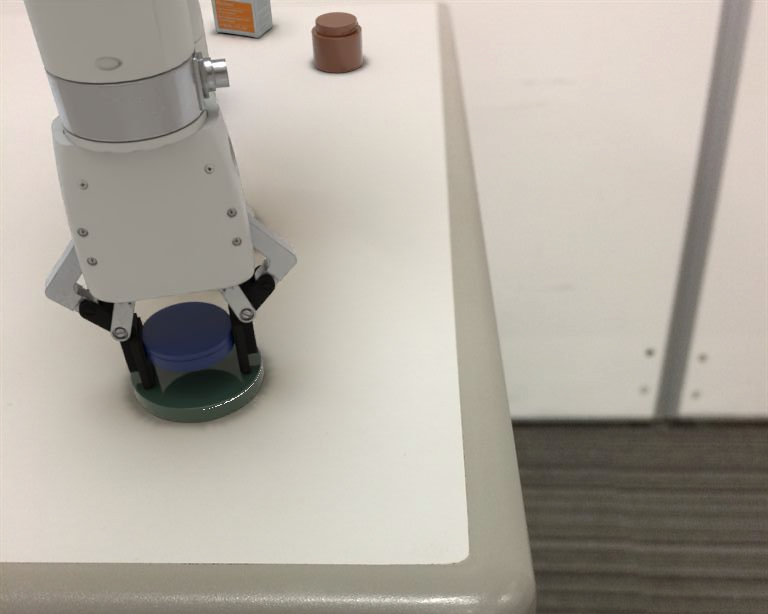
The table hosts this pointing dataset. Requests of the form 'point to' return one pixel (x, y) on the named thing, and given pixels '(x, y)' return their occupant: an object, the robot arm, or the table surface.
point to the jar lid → (188, 336)
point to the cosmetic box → (242, 16)
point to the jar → (337, 42)
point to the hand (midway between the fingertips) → (196, 366)
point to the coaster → (200, 389)
